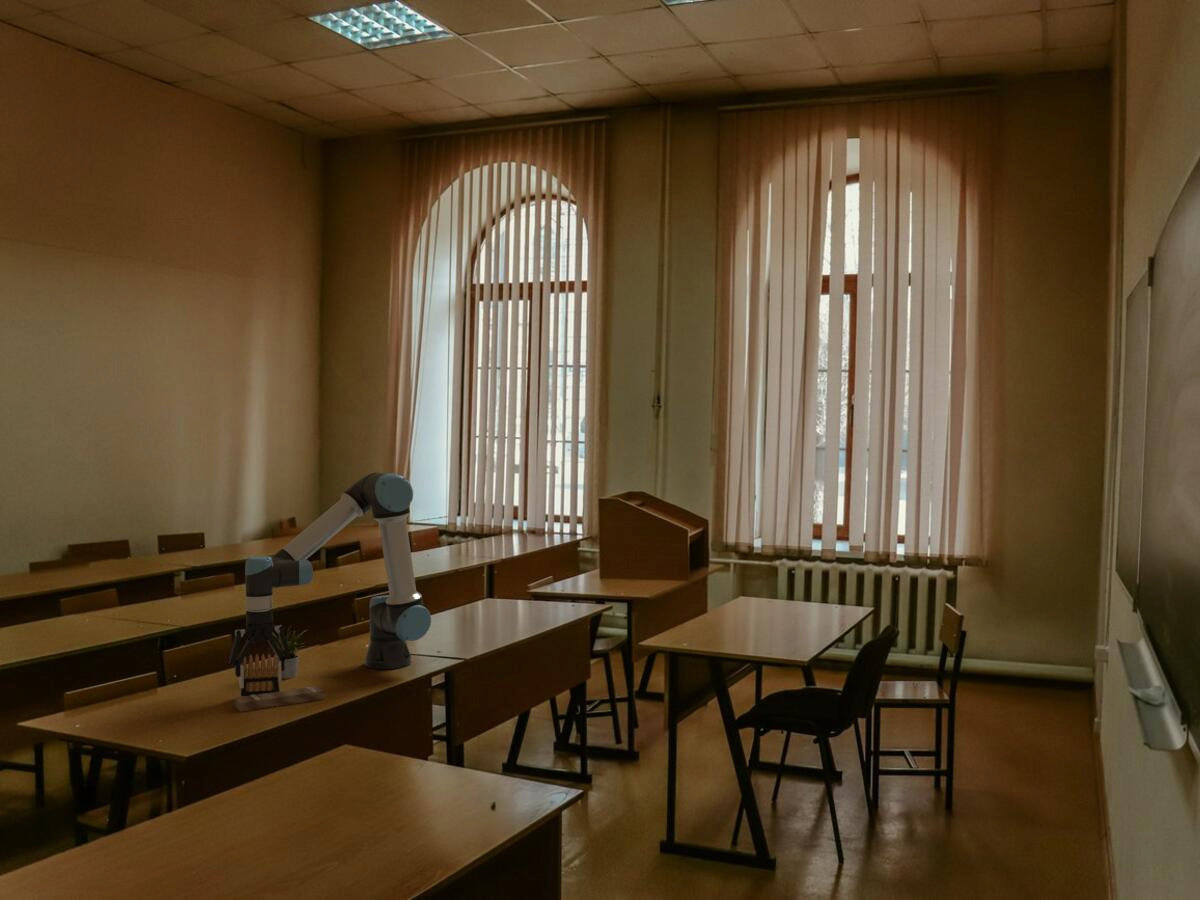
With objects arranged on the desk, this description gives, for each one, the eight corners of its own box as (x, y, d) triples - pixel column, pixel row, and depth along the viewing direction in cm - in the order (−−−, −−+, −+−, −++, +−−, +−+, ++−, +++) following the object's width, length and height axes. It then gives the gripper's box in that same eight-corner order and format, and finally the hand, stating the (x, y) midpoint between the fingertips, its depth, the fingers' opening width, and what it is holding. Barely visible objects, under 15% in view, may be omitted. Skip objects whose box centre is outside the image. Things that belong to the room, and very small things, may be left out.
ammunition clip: (279, 692, 304) (279, 652, 304) (279, 694, 302) (278, 653, 302) (241, 694, 301) (241, 654, 301) (240, 696, 300) (240, 655, 299)
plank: (318, 694, 304) (318, 685, 304) (325, 699, 298) (324, 690, 298) (234, 706, 291) (234, 697, 291) (239, 711, 286) (239, 702, 285)
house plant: (252, 681, 319) (251, 629, 319) (271, 671, 333) (270, 621, 333) (295, 682, 318) (295, 630, 317) (313, 672, 332) (312, 621, 331)
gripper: (294, 604, 310) (295, 677, 311) (216, 611, 298) (217, 687, 299) (301, 607, 304) (302, 682, 304) (221, 615, 292) (222, 693, 292)
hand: (260, 684), depth 302 cm, fingers closed on ammunition clip, 10 cm apart
